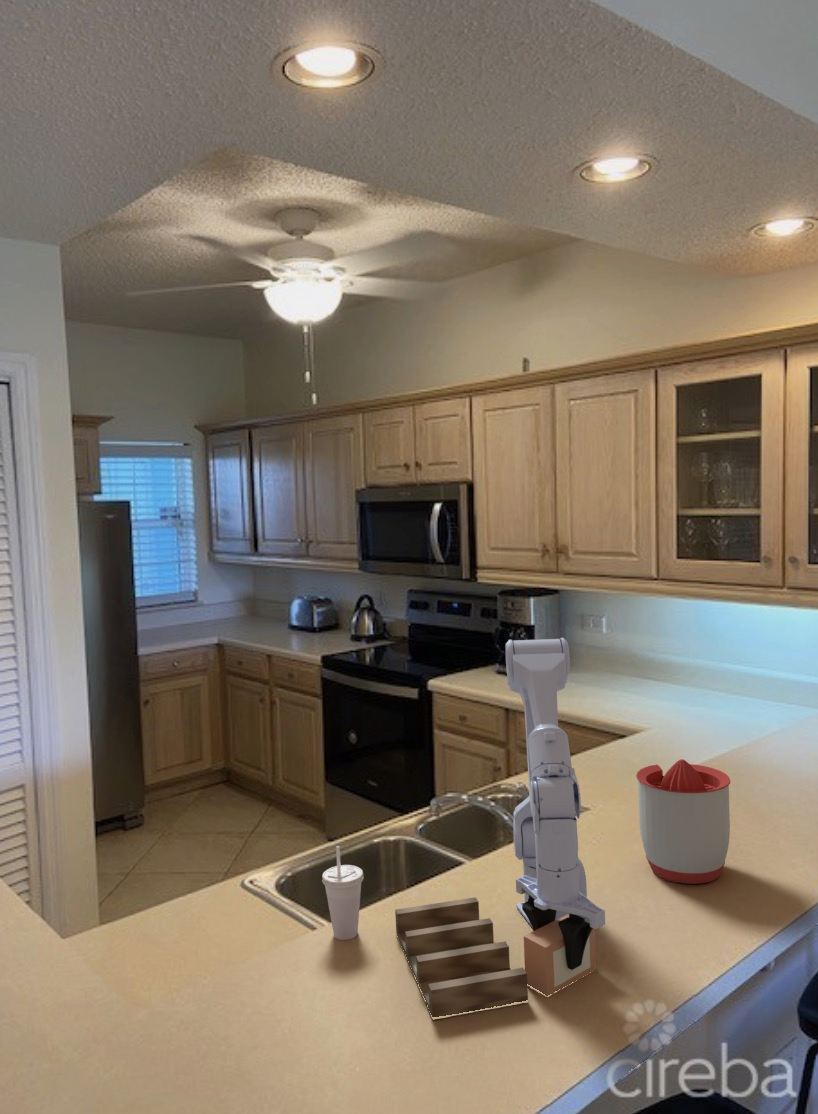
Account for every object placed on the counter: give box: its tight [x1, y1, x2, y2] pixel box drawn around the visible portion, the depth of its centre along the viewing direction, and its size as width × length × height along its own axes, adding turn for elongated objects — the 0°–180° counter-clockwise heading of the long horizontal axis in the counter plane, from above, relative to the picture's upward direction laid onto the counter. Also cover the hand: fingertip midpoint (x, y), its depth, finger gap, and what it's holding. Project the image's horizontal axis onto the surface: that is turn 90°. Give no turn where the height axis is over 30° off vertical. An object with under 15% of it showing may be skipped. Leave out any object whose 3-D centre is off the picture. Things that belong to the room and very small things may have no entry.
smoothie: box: [321, 845, 364, 941], centre depth 128 cm, size 6×6×14 cm
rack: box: [394, 897, 529, 1017], centre depth 118 cm, size 13×22×4 cm, turn 13°
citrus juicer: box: [635, 758, 731, 885], centre depth 145 cm, size 16×17×20 cm
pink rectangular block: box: [523, 914, 597, 996], centre depth 114 cm, size 4×10×7 cm, turn 128°
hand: (560, 958), depth 114 cm, fingers open, 4 cm apart
